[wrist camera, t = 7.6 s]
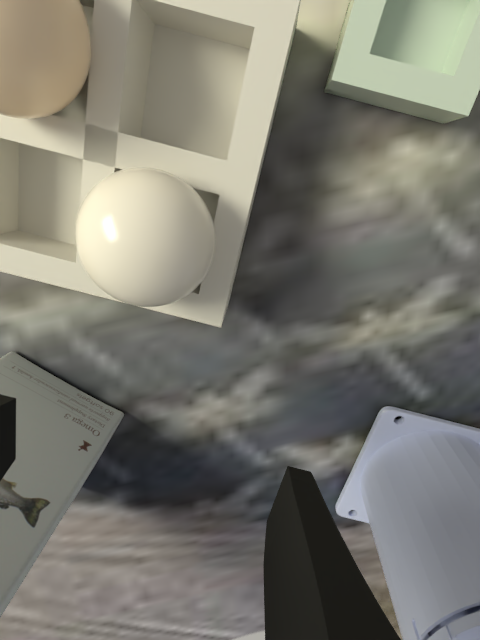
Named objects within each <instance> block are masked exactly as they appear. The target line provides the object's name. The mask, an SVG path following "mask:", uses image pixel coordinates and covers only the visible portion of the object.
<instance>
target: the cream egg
mask: <svg viewBox="0 0 480 640" xmlns="http://www.w3.org/2000/svg"><path fill="white" fill-rule="evenodd" d="M75 243H76V249H77V253H78V256H79V258H80V261H81V263H82V265H83V267H84V269H85V271H86V272H87V274H88V275H89V277H90V278H91V279H92V280H93V282H94V283H95V284H96V285H97V286H98V287H99V288H100V289H102V290H103V291H104V292H105V293H107V294H108V295H110V296H112V297H113V298H115V299H117V300H119V301H121V302H124V303H127V304H131V305H135V306H141V307H157V306H163V305H167V304H171V303H174V302H176V301H178V300H180V299H182V298H184V297H185V296H187V295H188V294H190V293H191V292H192V291H193V290H195V289H196V288H197V287H198V285H199V284H200V283H201V282H202V281H203V279H204V278H205V276H206V275H207V273H208V271H209V269H210V267H211V264H212V261H213V258H214V253H215V247H216V236H215V228H214V224H213V220H212V217H211V215H210V212H209V210H208V208H207V206H206V204H205V203H204V201H203V200H202V198H201V197H200V196H199V194H198V193H197V192H196V191H195V190H194V189H193V188H192V187H191V186H190V185H189V184H188V183H186V182H185V181H184V180H182V179H181V178H179V177H177V176H175V175H173V174H171V173H169V172H166V171H163V170H160V169H155V168H149V167H134V168H128V169H124V170H120V171H117V172H115V173H112V174H110V175H109V176H107V177H105V178H104V179H102V180H101V181H100V182H98V183H97V184H96V185H95V186H94V187H93V188H92V189H91V190H90V191H89V193H88V194H87V196H86V197H85V199H84V200H83V202H82V204H81V206H80V208H79V211H78V214H77V218H76V225H75Z"/></svg>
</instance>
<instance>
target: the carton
mask: <svg viewBox="0 0 480 640" xmlns="http://www.w3.org/2000/svg"><path fill="white" fill-rule="evenodd" d="M300 1H301V0H80V2H81V4H82V7H83V9H84V13H85V16H86V19H87V22H88V27H89V32H90V40H91V59H90V67H89V71H88V75H87V78H86V81H85V83H84V85H83V87H82V89H81V91H80V92H79V94H78V95H77V96H76V98H75V99H74V100H73V101H72V102H71V103H70V104H69V105H68V106H66V107H65V108H63V109H62V110H60V111H58V112H56V113H54V114H52V115H49V116H45V117H40V118H32V119H23V118H14V117H9V116H4V115H1V114H0V271H1V272H5V273H9V274H13V275H17V276H21V277H25V278H29V279H33V280H37V281H40V282H44V283H48V284H52V285H56V286H60V287H64V288H68V289H72V290H76V291H80V292H84V293H88V294H91V295H95V296H99V297H103V298H107V299H111V300H115V301H119V300H117V299H115V298H113V297H112V296H110V295H108V294H107V293H105V292H104V291H103V290H102V289H100V288H99V287H98V286H97V285H96V284H95V283H94V282H93V280H92V279H91V278H90V277H89V275H88V274H87V272H86V271H85V269H84V267H83V265H82V263H81V261H80V258H79V256H78V253H77V249H76V243H75V225H76V218H77V214H78V211H79V208H80V206H81V204H82V202H83V200H84V199H85V197H86V196H87V194H88V193H89V191H90V190H91V189H92V188H93V187H94V186H95V185H96V184H97V183H98V182H100V181H101V180H102V179H104V178H105V177H107V176H109V175H110V174H112V173H115V172H117V171H120V170H124V169H128V168H134V167H149V168H155V169H160V170H163V171H166V172H169V173H171V174H173V175H175V176H177V177H179V178H181V179H182V180H184V181H185V182H186V183H188V184H189V185H190V186H191V187H192V188H193V189H194V190H195V191H196V192H197V193H198V194H199V196H200V197H201V198H202V200H203V201H204V203H205V204H206V206H207V208H208V210H209V212H210V215H211V217H212V220H213V224H214V228H215V236H216V247H215V253H214V258H213V261H212V264H211V267H210V269H209V271H208V273H207V275H206V276H205V278H204V279H203V281H202V282H201V283H200V284H199V285H198V287H197V288H196V289H195V290H193V291H192V292H191V293H190V294H188V295H187V296H185V297H184V298H182V299H180V300H178V301H176V302H174V303H171V304H167V305H163V306H157V307H142V308H146V309H150V310H154V311H158V312H162V313H166V314H170V315H174V316H178V317H182V318H186V319H190V320H194V321H197V322H201V323H205V324H209V325H213V326H217V327H221V326H222V323H223V320H224V317H225V314H226V311H227V308H228V305H229V301H230V297H231V292H232V288H233V284H234V280H235V276H236V272H237V268H238V264H239V260H240V256H241V251H242V247H243V243H244V239H245V235H246V231H247V227H248V223H249V219H250V214H251V210H252V206H253V202H254V198H255V194H256V190H257V186H258V182H259V178H260V173H261V169H262V165H263V161H264V157H265V153H266V149H267V145H268V141H269V137H270V132H271V128H272V124H273V120H274V116H275V112H276V108H277V104H278V100H279V95H280V91H281V87H282V83H283V79H284V75H285V71H286V67H287V63H288V59H289V54H290V50H291V46H292V42H293V38H294V34H295V30H296V25H297V19H298V13H299V7H300ZM119 302H121V301H119ZM123 303H124V302H123ZM139 307H141V306H139Z"/></svg>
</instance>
